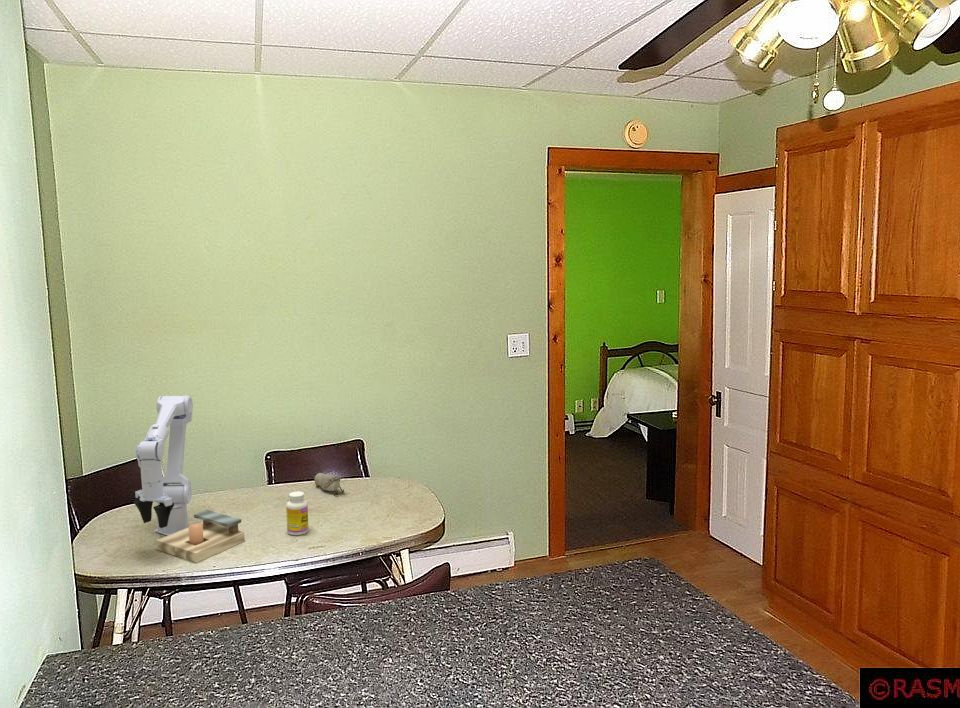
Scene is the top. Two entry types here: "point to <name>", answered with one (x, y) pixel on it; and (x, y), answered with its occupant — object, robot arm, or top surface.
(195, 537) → the peg
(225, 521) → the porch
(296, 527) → the supplement bottle
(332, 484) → the decorative bird
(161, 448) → the robot arm
